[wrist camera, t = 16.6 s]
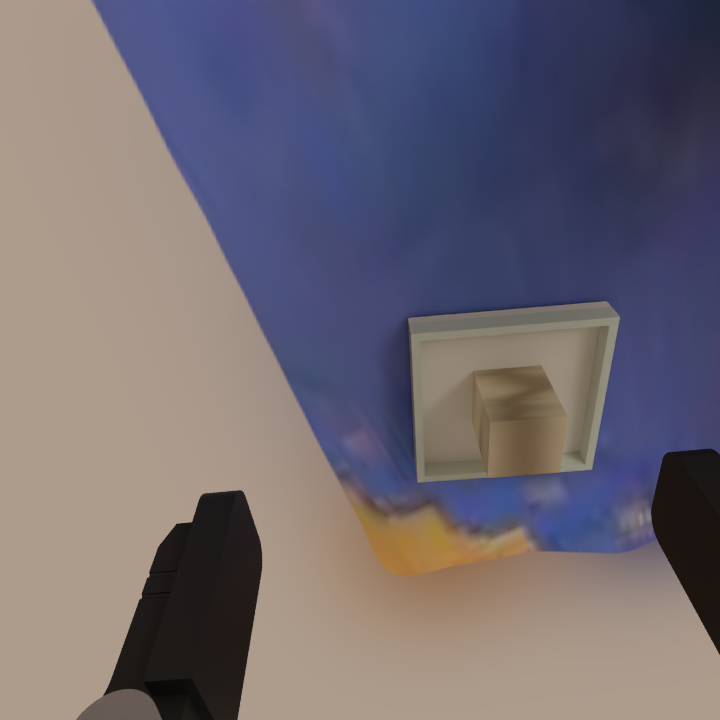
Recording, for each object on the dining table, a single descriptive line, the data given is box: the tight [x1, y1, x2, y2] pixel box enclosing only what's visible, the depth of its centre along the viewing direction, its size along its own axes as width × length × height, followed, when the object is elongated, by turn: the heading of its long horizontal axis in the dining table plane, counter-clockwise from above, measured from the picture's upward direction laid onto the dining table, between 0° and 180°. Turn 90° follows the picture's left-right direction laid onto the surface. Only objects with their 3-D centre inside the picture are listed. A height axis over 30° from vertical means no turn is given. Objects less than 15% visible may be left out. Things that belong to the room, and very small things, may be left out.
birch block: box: [472, 365, 568, 478], centre depth 41 cm, size 5×5×6 cm
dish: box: [408, 301, 620, 483], centre depth 43 cm, size 14×14×2 cm
